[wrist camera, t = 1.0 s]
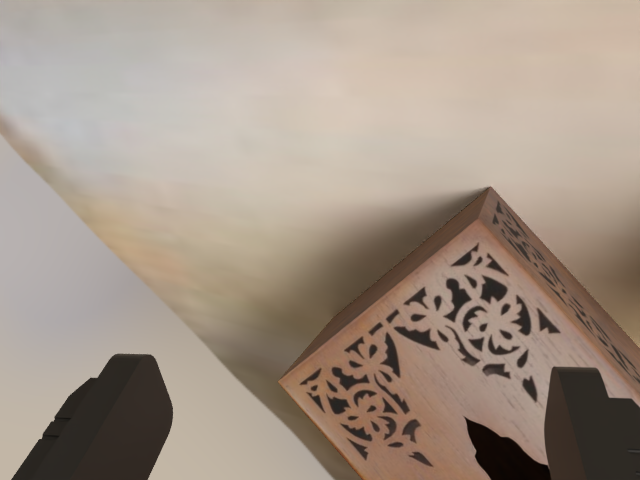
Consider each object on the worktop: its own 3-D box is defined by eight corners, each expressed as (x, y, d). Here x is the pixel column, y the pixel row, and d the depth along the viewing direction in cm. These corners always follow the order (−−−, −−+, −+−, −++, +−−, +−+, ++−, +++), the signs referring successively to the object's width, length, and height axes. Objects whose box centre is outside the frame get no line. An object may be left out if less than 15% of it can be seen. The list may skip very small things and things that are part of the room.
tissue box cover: (785, 505, 33) (881, 659, 24) (578, 594, 39) (593, 744, 30) (491, 185, 35) (478, 218, 26) (333, 317, 41) (277, 381, 32)
